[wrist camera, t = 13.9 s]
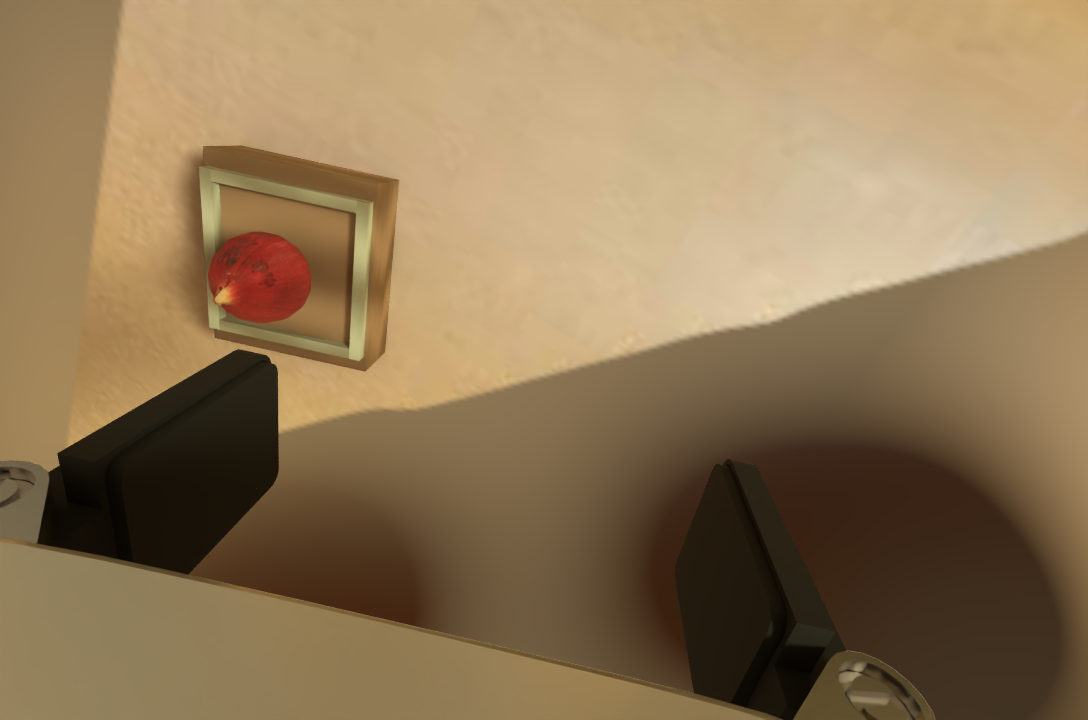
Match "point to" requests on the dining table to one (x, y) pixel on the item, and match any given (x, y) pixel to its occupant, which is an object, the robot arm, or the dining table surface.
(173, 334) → the dining table surface
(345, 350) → the plinth
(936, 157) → the dining table surface
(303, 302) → the onion
